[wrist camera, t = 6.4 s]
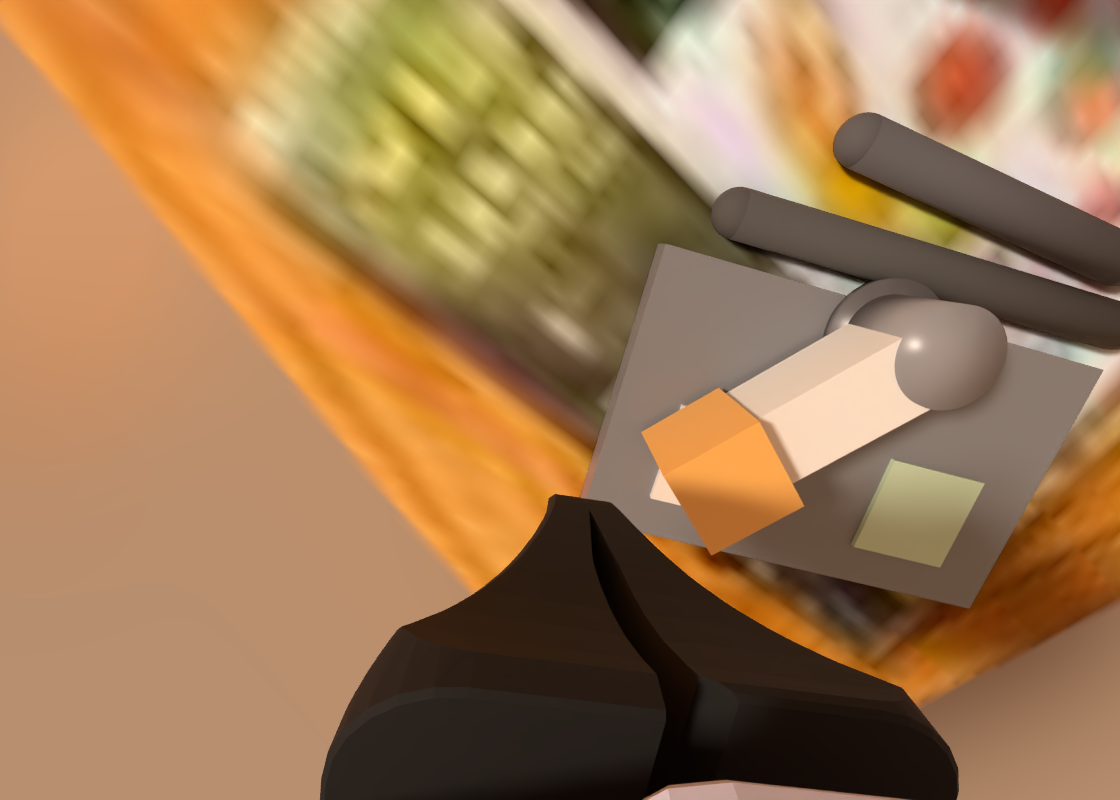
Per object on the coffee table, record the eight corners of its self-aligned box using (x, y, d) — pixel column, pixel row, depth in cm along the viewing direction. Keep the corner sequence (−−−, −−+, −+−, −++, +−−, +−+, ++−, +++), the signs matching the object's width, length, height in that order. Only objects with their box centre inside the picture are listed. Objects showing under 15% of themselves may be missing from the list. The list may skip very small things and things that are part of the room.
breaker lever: (945, 354, 18) (1040, 381, 14) (681, 499, 19) (711, 555, 16) (913, 276, 17) (1006, 284, 14) (641, 432, 18) (663, 475, 15)
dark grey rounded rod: (1129, 246, 19) (1182, 247, 17) (1100, 290, 19) (1150, 295, 17) (838, 110, 17) (867, 97, 16) (814, 161, 18) (840, 153, 16)
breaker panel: (1085, 336, 19) (1128, 343, 18) (947, 589, 22) (975, 613, 21) (667, 213, 18) (678, 211, 16) (578, 502, 21) (580, 522, 19)
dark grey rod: (1123, 307, 19) (1173, 313, 18) (1099, 349, 20) (1147, 359, 18) (714, 183, 18) (730, 177, 16) (698, 232, 18) (712, 231, 17)
